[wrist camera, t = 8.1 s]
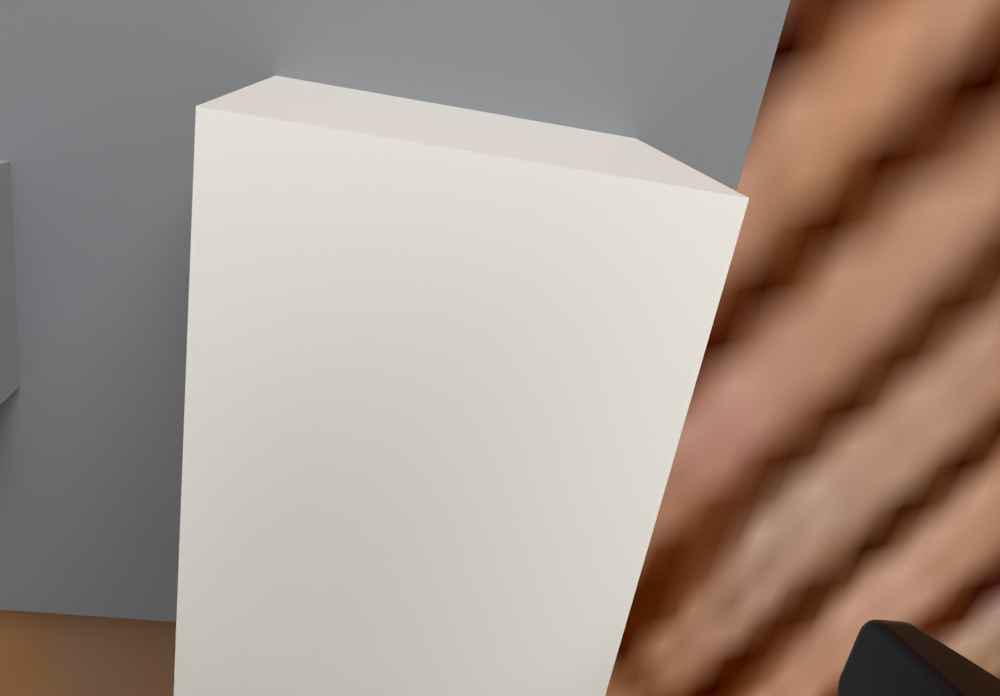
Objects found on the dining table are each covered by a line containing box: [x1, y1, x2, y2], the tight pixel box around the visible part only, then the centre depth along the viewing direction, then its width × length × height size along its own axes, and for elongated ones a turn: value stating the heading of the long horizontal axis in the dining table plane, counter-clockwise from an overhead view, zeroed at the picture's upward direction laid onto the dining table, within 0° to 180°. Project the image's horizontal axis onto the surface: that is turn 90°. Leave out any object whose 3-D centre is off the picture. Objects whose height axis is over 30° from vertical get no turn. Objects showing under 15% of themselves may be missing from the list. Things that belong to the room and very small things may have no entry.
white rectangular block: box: [174, 76, 749, 696], centre depth 12 cm, size 8×6×5 cm
